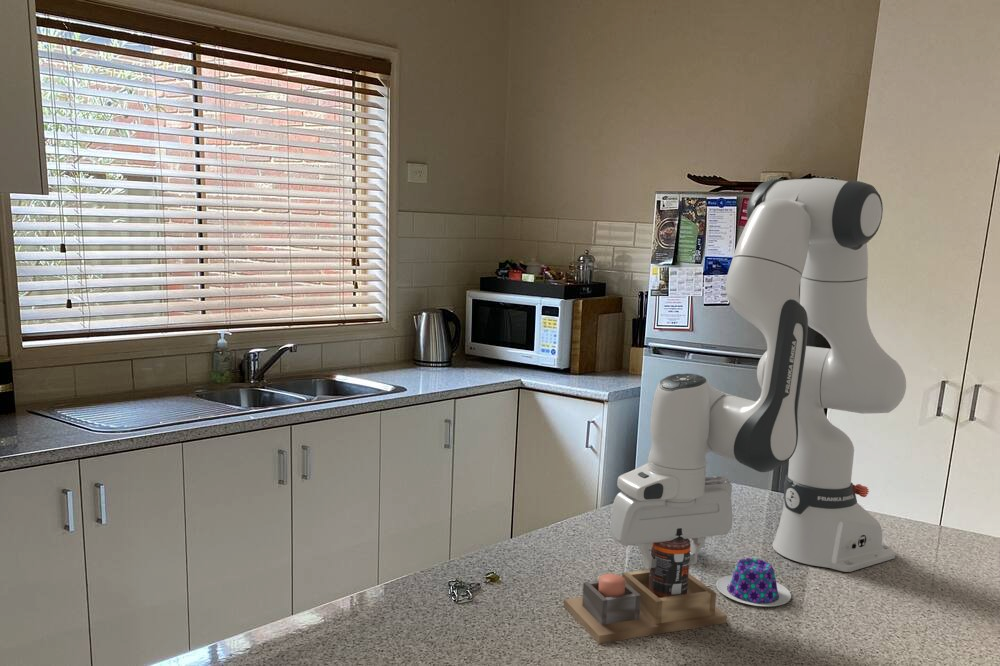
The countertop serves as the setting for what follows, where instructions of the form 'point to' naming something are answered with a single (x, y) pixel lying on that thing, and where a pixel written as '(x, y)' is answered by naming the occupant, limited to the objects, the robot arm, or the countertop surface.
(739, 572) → the pudding
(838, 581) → the countertop surface
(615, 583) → the button
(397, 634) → the countertop surface
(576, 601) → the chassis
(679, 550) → the supplement bottle
